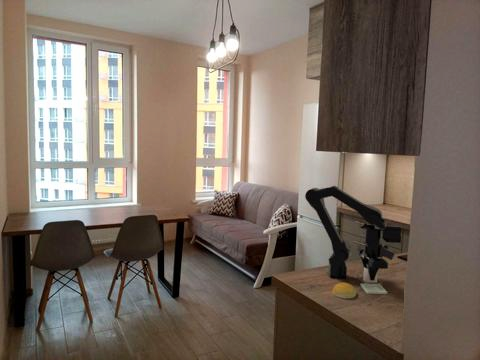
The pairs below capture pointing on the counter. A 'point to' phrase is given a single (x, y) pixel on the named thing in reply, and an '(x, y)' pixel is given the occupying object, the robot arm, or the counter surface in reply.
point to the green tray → (373, 288)
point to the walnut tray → (369, 283)
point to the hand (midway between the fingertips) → (370, 278)
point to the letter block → (367, 277)
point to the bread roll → (344, 290)
